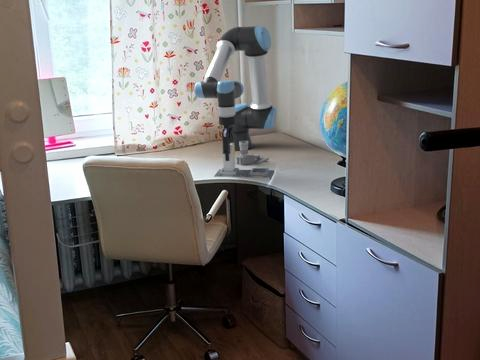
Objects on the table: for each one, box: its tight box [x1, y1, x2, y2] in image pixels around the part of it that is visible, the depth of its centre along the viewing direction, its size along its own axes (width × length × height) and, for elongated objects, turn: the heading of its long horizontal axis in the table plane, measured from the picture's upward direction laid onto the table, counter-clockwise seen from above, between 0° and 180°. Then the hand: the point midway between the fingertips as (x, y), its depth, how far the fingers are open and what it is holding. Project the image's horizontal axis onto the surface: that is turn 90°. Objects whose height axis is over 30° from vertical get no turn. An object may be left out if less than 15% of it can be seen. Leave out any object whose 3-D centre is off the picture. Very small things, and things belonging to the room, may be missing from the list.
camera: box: [236, 141, 270, 166], centre depth 310 cm, size 9×12×15 cm
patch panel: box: [213, 167, 275, 180], centre depth 292 cm, size 12×26×2 cm, turn 79°
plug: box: [221, 143, 236, 172], centre depth 291 cm, size 4×5×13 cm
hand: (229, 165), depth 292 cm, fingers closed on plug, 4 cm apart
